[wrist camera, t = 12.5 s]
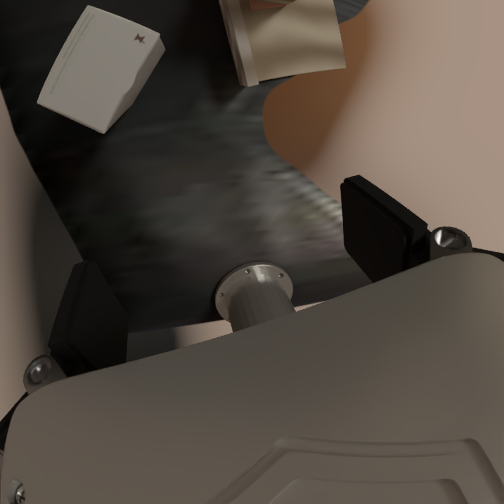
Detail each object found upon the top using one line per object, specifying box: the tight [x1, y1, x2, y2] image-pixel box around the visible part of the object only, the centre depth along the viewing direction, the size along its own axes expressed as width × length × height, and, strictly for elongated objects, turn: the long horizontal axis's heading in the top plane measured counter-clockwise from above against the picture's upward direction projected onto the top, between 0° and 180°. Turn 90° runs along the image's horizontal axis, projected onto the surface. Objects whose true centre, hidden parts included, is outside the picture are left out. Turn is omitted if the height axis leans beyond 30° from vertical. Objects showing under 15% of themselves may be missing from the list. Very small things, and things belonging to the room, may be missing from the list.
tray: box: [218, 0, 346, 87], centre depth 26 cm, size 18×14×4 cm
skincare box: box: [37, 6, 165, 134], centre depth 22 cm, size 8×7×16 cm
